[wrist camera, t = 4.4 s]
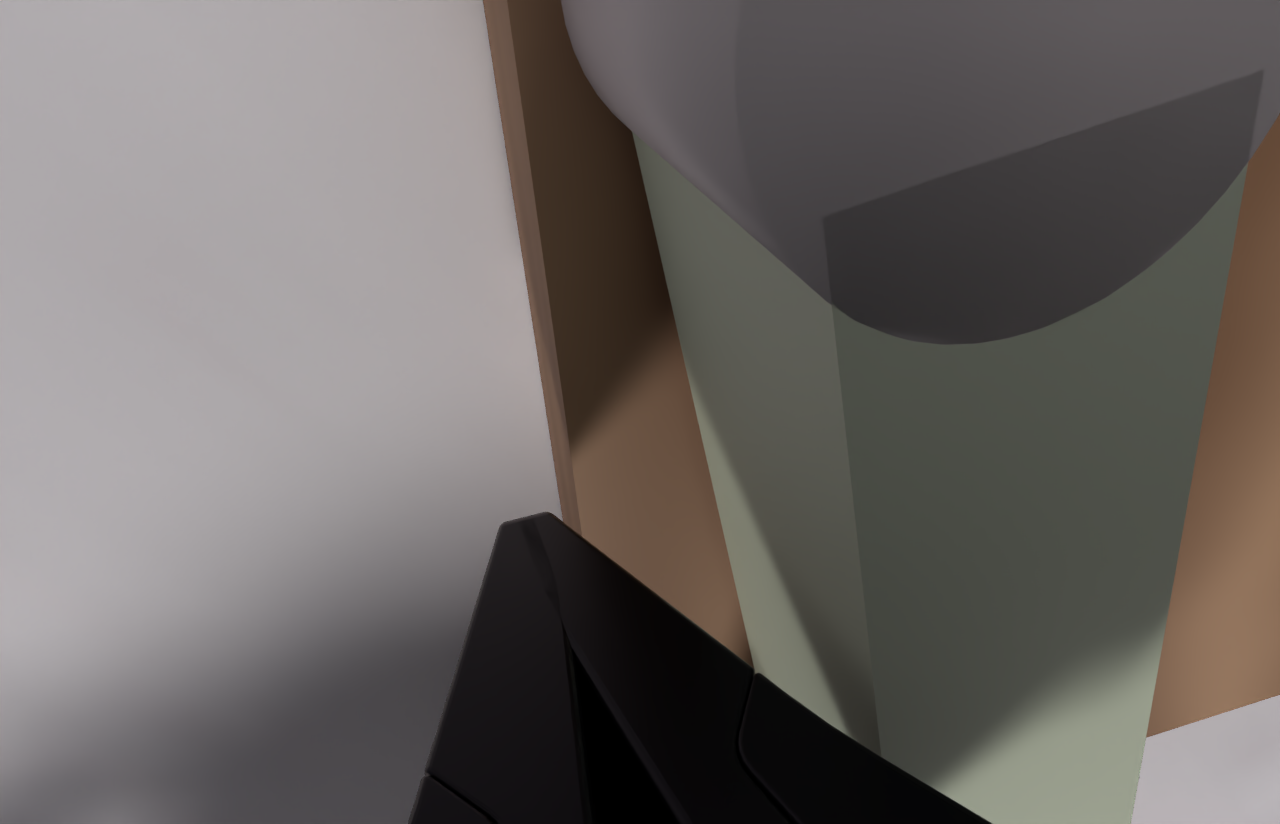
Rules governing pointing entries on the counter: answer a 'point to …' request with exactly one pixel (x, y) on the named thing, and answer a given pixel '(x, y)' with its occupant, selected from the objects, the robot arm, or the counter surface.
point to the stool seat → (668, 426)
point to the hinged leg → (950, 347)
